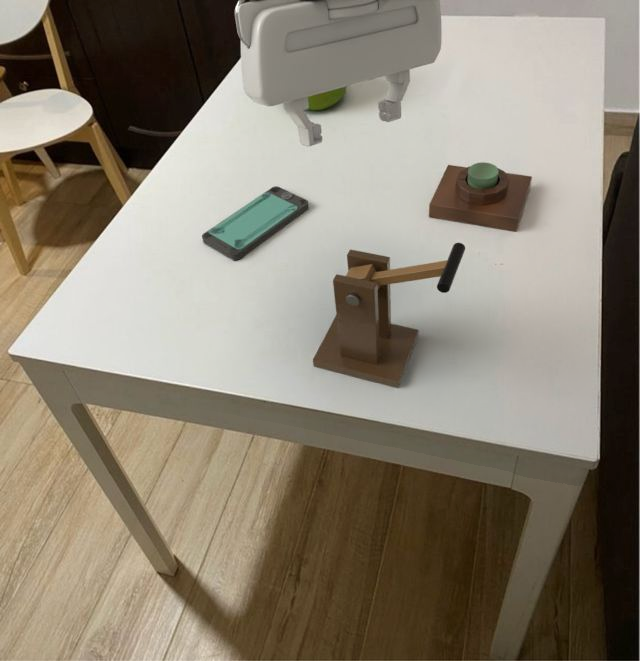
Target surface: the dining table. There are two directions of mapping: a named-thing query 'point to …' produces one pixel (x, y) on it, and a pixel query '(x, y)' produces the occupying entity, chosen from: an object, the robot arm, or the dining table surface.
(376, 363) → the switch bracket
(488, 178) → the light button
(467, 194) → the button block
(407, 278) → the switch lever
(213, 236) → the smartphone
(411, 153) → the dining table surface
